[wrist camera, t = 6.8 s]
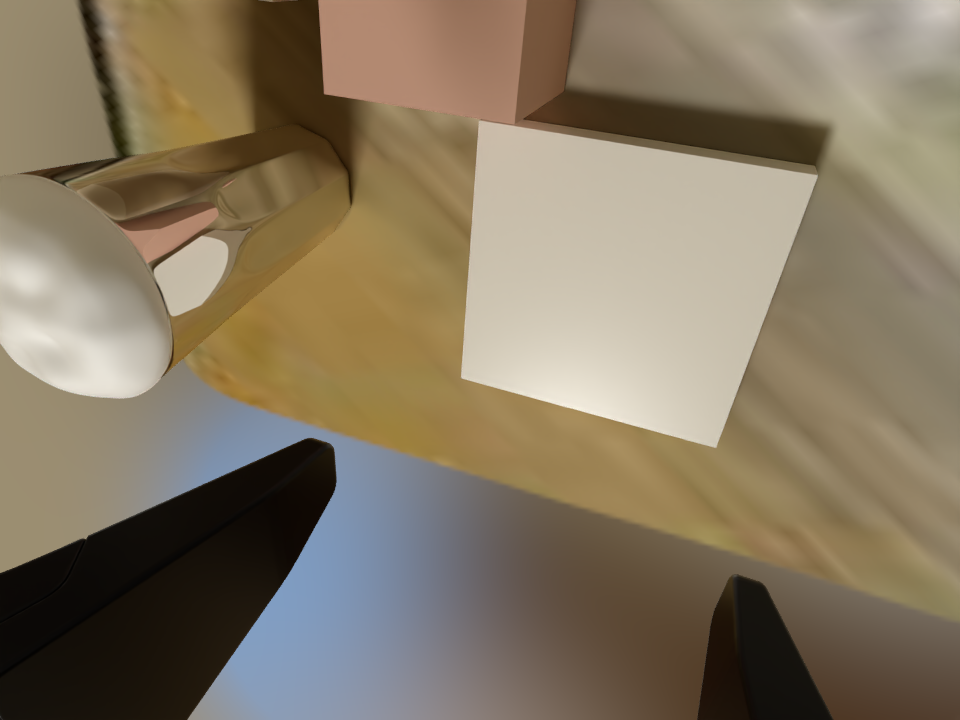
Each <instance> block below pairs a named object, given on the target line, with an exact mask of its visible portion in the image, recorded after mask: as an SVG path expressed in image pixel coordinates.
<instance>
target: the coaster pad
mask: <svg viewBox="0 0 960 720" xmlns="http://www.w3.org/2000/svg"><path fill="white" fill-rule="evenodd" d="M817 177H818V173H817V171H816V168H815V166H813V165H807V164H800V163H794V162H788V161H781V160H775V159H769V158H763V157H756V156H750V155H744V154H737V153H731V152H725V151H719V150H712V149H706V148H700V147H693V146H687V145H681V144H675V143H668V142H662V141H656V140H649V139H643V138H637V137H631V136H624V135H618V134H612V133H605V132H599V131H593V130H587V129H580V128H574V127H568V126H561V125H555V124H549V123H543V122H536V121H530V120H524V119H522V120H520V121H519V122H517V123H516V124H508V123H502V122H496V121H490V120H483V119H481V120H479V130H478V144H477V159H476V173H475V187H474V201H473V216H472V230H471V244H470V258H469V273H468V287H467V301H466V316H465V330H464V344H463V358H462V373H461V378H462V379H466V380H469V381H473V382H477V383H480V384H484V385H488V386H491V387H495V388H498V389H502V390H506V391H509V392H513V393H517V394H520V395H524V396H528V397H531V398H535V399H539V400H542V401H546V402H550V403H553V404H557V405H561V406H564V407H568V408H572V409H575V410H579V411H583V412H586V413H590V414H594V415H597V416H601V417H605V418H608V419H612V420H616V421H619V422H623V423H626V424H630V425H634V426H637V427H641V428H645V429H648V430H652V431H656V432H659V433H663V434H667V435H670V436H674V437H678V438H681V439H685V440H689V441H692V442H696V443H700V444H703V445H707V446H711V447H714V448H716V446H717V444H718V441H719V438H720V436H721V433H722V430H723V428H724V425H725V422H726V420H727V417H728V414H729V412H730V409H731V406H732V404H733V401H734V398H735V396H736V393H737V390H738V388H739V385H740V382H741V380H742V377H743V374H744V372H745V369H746V366H747V364H748V361H749V358H750V356H751V353H752V350H753V348H754V345H755V343H756V340H757V337H758V335H759V332H760V329H761V327H762V324H763V321H764V319H765V316H766V313H767V311H768V308H769V305H770V303H771V300H772V297H773V295H774V292H775V289H776V287H777V284H778V281H779V279H780V276H781V273H782V271H783V268H784V265H785V263H786V260H787V257H788V255H789V252H790V249H791V247H792V244H793V241H794V239H795V236H796V233H797V231H798V228H799V225H800V223H801V220H802V217H803V215H804V212H805V209H806V207H807V204H808V201H809V199H810V196H811V193H812V191H813V188H814V185H815V183H816V180H817Z"/></svg>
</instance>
